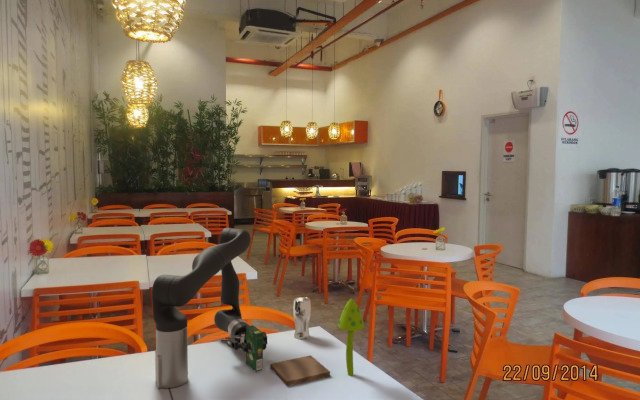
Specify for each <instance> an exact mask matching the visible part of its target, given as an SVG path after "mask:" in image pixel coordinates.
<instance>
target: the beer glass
mask: <svg viewBox="0 0 640 400" xmlns="http://www.w3.org/2000/svg"><path fill="white" fill-rule="evenodd" d="M292 309H293V310H292V311H293V314H292V315H293V321H294V325H295V328H294V336H293V337H294V338H295V339H297V338H298V339H297V340H306V339H305V338H307V339H309V338H310V335H311V334H310V331H309V327H310V326H309V325H310V319H311V313H312V306H311V299H310V298H309V297H306V296H303V297H302V296H299V297H295V298H293V307H292ZM308 337H309V338H308Z"/></svg>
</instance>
